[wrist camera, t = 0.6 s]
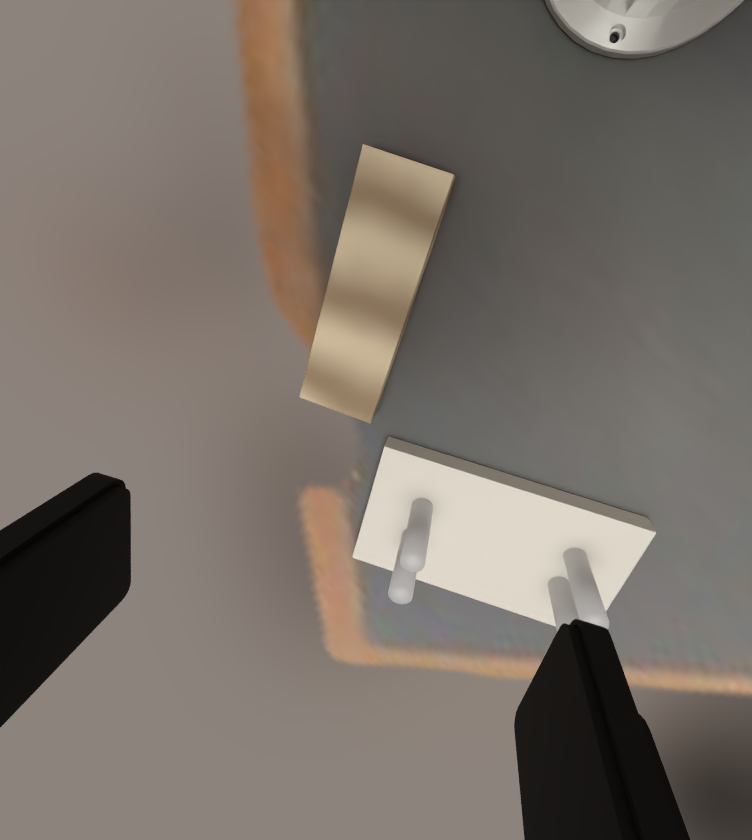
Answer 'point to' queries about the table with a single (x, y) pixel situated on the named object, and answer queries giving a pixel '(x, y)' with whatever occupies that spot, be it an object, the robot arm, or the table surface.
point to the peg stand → (496, 537)
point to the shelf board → (374, 280)
